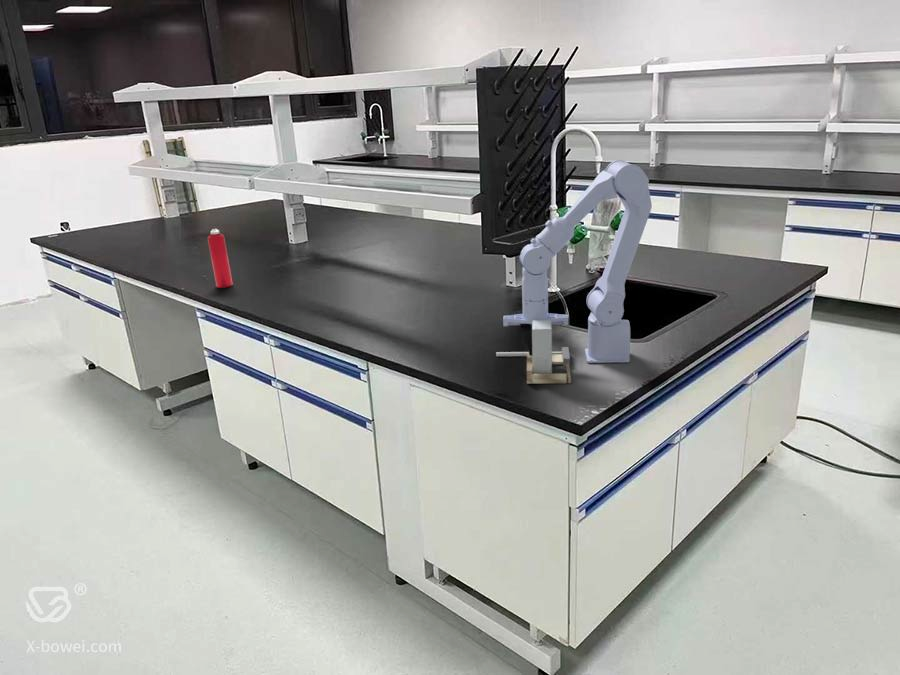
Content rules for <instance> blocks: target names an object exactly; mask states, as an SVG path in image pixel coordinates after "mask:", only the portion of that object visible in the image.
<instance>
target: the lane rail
mask: <svg viewBox="0 0 900 675" xmlns="http://www.w3.org/2000/svg"><path fill="white" fill-rule="evenodd" d="M569 350H570V348H569V347H568V346H561V351H552V355H559V354H562V358H563V364H562V367H563V368H566V364H569V368H570V367H571V357H570V351H569ZM527 353H529V351H510V352H509V351H505V352H504V351H499V352H498V351H497V352H495V354H496V355H495V356H496V357H527Z"/></svg>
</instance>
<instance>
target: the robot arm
mask: <svg viewBox="0 0 900 675" xmlns="http://www.w3.org/2000/svg"><path fill="white" fill-rule="evenodd" d="M649 179H650V178H648V176H647V175H646V173H645V171H644V170H643V169H642V167H640V166H638V165H637V164H631V163H629V162H627V161H625V160H622V159H617V160H614V161H612V162H609V164H608V165H607V166H606V168H605V169H604V170H602V171H601V172H600V173H598V175H597V176H596V177H595V178H594V180H593V181H592V182H591V183H590V184H589V186H588V187H587V188H586V189H585V190H584V192H583V193H581V195H580V196H579V198H577V200H576V201H575V202H574V203H573V205H571V207H570V208H569V209H568V210H567V212H566V213H565V214H564V215H563V216H559V217H554V218H553V219H552V220H550V219H548V220H547V221H546V222H545V223H544V224H545V228H544V229H542V230H541V232H539V234H538V235H537V236H536V237H535V238H534V237H532V238H531V240H530V244H529V243H528V244H526V245H524V247H522V250H521V251H520V255H519V256H518V258H519V262H520V263H521V265H522V269H521V270H522V271H521V275H522V278H521V295H522V296H521V299H522V303H521V304H522V313H517V314H510V315H503V318H502V322H503V324H502V325H503V327H509V326H519V328H520V330H519V331H520V333H521V335H522V337H523V338H524V340H525V343H526V346H527V348H528V352H529V356H532V321H533V320H551V325H563V326H569V317H568V314H564V313H563V314H559V313H551V312H550V313H549V281H548V280H549V278H548V270H549V268H550V267H551V263H552V261H551V260H552V258H554V257H555V256H556V255H557V254H558V253H559V252H560V251H561V250H562V249H563V248H564V247H565V245H567V244H568V242H570V240H571V239H572V238H573V237H574V236H575V227H577V225H578V224H579V223H580V222H581V221H582V220H583V219H584V218H586V216H588V214H589V213H591V212H592V210H593V209H595V208H596V207H597V206H598V205H599V204H600V203H601V202H603V201H607V200H613V199H617V198H618V199H619V200H620V202H621V203H622V206H623V207H624V212H623V214H622V216H621V220H620V223H619V226H618V229H617V232H616V235H615V238H614V240H613V243H612V247H611V249H610V252H609V255H608V257H607V261H606V263H605V264H606V265H605V267H604V270H603V273H602V276H600V277H599V278H598V279H597V280H596V282H595V284H594V287H593V288H592V289H591V290H590V292H588V293H587V296H586V305H587V307H588V309H589V310H590V314H589V316H588V318H587V326H588V327H587V348H584V353H585V358H586V362H587V363H589V364H593V363H594V364H596V363H600V364H601V363H602V364H603V363H605V364H606V363H607V364H609V363H630V361H631V359H630V351H631V325H630V324H631V323H630V321H629V320H628V319H622V318H623V316H624V312H625V309H624V302H625V301H624V300H625V298H626V291H625V290H626V288H625V284H626V280H627V279H628V275H629V273H630V270H631V267H632V263H633V261H634V258H635V256H636V253H637V251H638V248H639V244H640V242H641V239H642V236H643V233H644V230H645V228H646V224H647V222H648V219H649V216H650V213H651V211H652V206H653V205H652V200H651V194H650V189H649V188H650V187H649V182H650V180H649Z"/></svg>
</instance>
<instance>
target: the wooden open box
mask: <svg viewBox="0 0 900 675" xmlns="http://www.w3.org/2000/svg"><path fill="white" fill-rule="evenodd" d="M552 365H563V358H562V354H559V355H552ZM565 369H566V373H552V374H533V373H532V356H529V353H527V356H526V384H527V385H528V384H571V381H572V379H571V368H570V367H569V364H566V367H565Z"/></svg>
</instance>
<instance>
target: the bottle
mask: <svg viewBox="0 0 900 675" xmlns="http://www.w3.org/2000/svg"><path fill="white" fill-rule="evenodd" d="M209 233H210V235H209V236H207V243H208V248H209V254H210V258H211V259H210V260H211V264H212V270H213V276H214V280H215V287H216V288H218V289H219V288H220V289H222V288H223V289H224V288H229V287H232V286H233V285H234V282H233V278H232V272H231V267H230V263H229V262H230V261H229V256H228V250H227V245H226V239H225V236H224V234H222V233H220V230H219V229H217V228H212V229H211V231H210V232H209Z"/></svg>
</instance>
